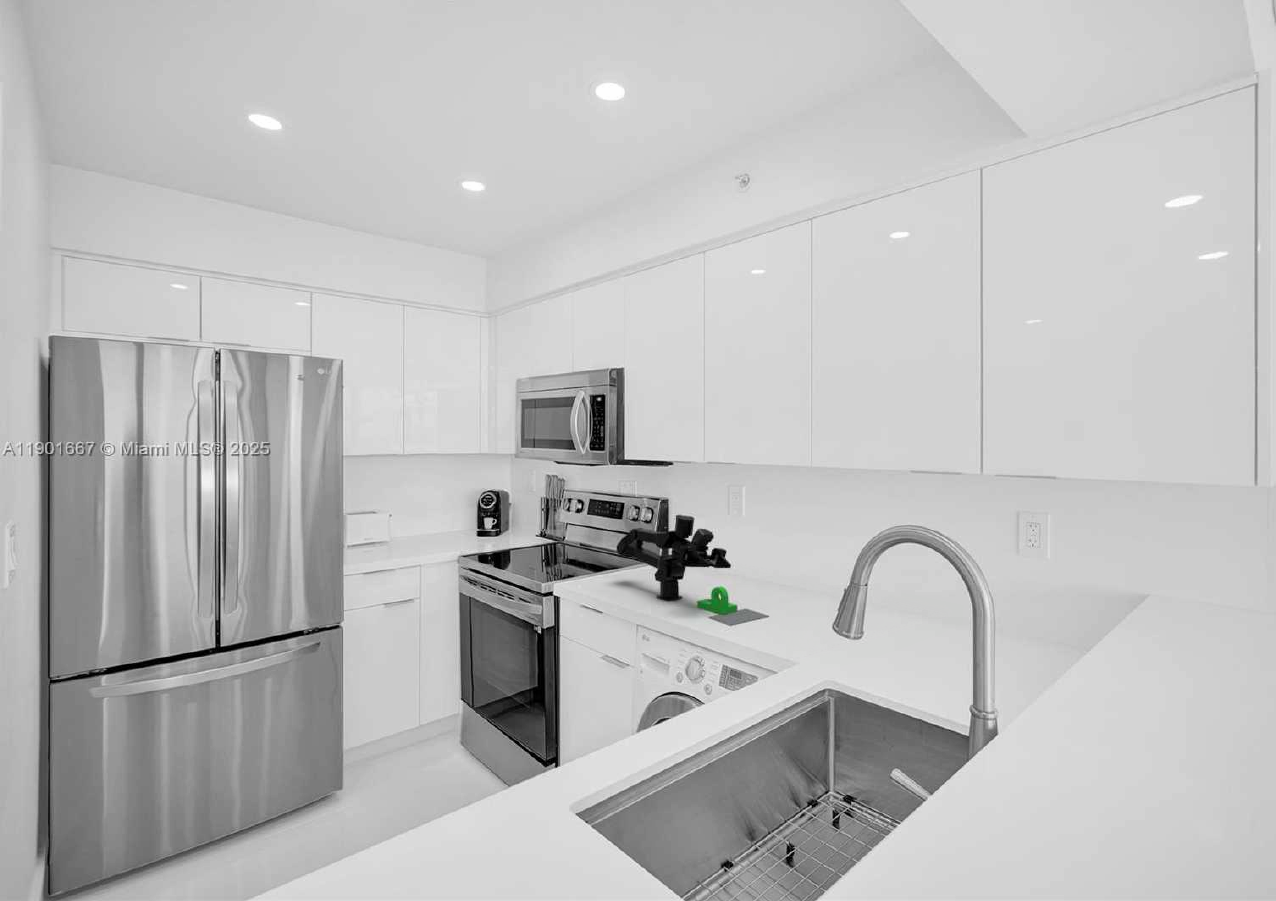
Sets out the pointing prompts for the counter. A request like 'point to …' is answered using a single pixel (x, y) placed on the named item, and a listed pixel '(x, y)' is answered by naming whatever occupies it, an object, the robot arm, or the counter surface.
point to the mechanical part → (718, 602)
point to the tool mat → (738, 617)
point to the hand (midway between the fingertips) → (720, 566)
